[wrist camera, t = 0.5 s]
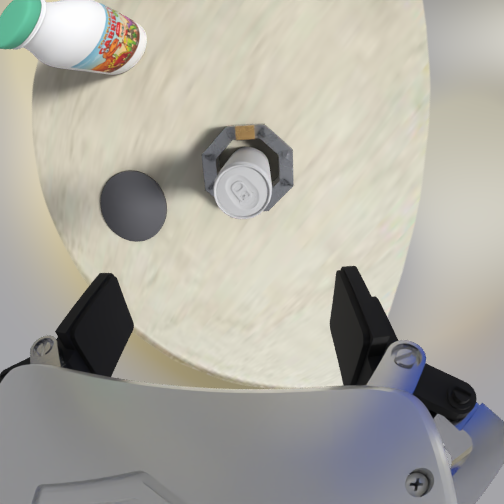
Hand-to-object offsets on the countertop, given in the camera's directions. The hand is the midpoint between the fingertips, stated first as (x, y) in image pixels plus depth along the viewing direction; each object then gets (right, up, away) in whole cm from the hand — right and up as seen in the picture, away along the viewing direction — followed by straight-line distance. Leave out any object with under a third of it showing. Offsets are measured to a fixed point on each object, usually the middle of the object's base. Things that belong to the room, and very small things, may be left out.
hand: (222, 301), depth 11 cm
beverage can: (+1, +12, +21) cm, 25 cm away
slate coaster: (-15, +8, +24) cm, 29 cm away
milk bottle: (-15, +28, +14) cm, 35 cm away
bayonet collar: (+1, +12, +21) cm, 25 cm away
